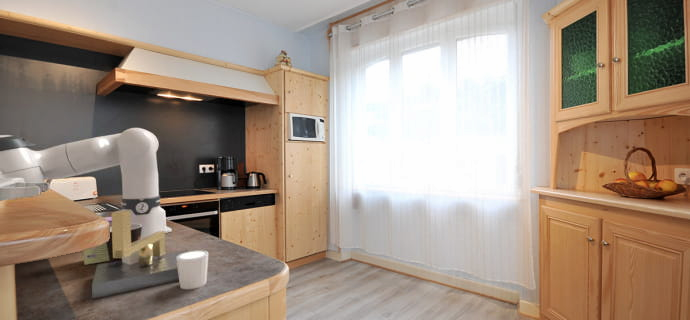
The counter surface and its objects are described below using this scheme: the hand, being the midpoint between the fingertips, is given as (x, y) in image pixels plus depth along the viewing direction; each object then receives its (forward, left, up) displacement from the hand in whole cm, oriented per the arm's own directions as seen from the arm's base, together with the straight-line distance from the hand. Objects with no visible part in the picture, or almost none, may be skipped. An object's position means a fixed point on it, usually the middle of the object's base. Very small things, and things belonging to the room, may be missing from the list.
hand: (44, 188), depth 62 cm
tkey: (-5, +16, -21) cm, 27 cm away
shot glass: (+5, +26, -24) cm, 36 cm away
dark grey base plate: (-6, +17, -24) cm, 30 cm away
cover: (-11, +15, -21) cm, 28 cm away
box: (-28, +8, -24) cm, 38 cm away
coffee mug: (-22, +13, -24) cm, 35 cm away
